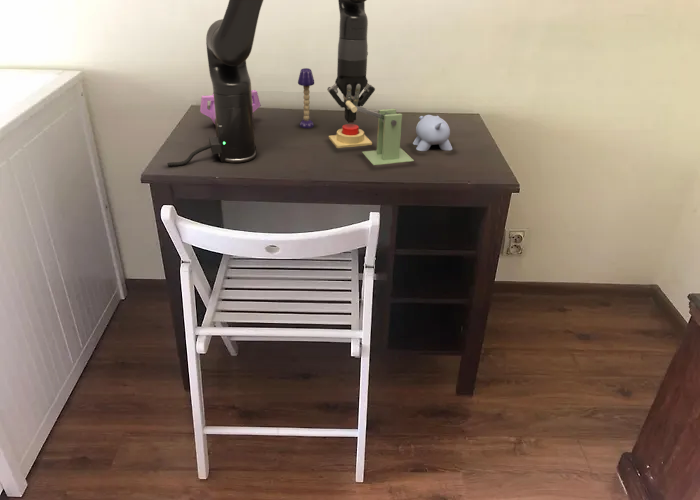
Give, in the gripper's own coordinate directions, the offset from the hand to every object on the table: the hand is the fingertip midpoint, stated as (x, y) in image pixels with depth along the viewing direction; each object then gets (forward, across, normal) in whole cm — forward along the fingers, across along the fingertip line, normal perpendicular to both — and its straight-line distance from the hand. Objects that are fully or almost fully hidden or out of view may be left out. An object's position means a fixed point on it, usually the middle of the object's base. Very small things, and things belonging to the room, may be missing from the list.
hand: (350, 121), depth 160 cm
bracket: (+6, -6, +13) cm, 16 cm away
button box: (+6, 0, 0) cm, 7 cm away
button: (+3, 0, 0) cm, 3 cm away
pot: (+7, +29, -22) cm, 37 cm away
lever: (-5, -1, +13) cm, 14 cm away
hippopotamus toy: (+6, -21, +7) cm, 23 cm away
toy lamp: (+7, +8, -17) cm, 20 cm away
